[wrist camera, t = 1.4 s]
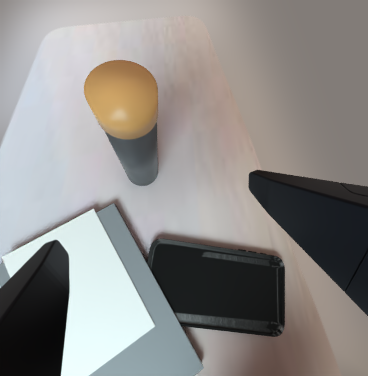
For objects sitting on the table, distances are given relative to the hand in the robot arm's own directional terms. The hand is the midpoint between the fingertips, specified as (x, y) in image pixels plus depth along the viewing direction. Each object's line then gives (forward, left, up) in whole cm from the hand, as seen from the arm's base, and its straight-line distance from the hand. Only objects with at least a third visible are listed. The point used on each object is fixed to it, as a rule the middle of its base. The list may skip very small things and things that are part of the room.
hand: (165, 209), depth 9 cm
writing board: (-4, +9, -13) cm, 17 cm away
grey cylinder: (+7, -1, -13) cm, 15 cm away
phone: (-8, -2, -14) cm, 16 cm away
